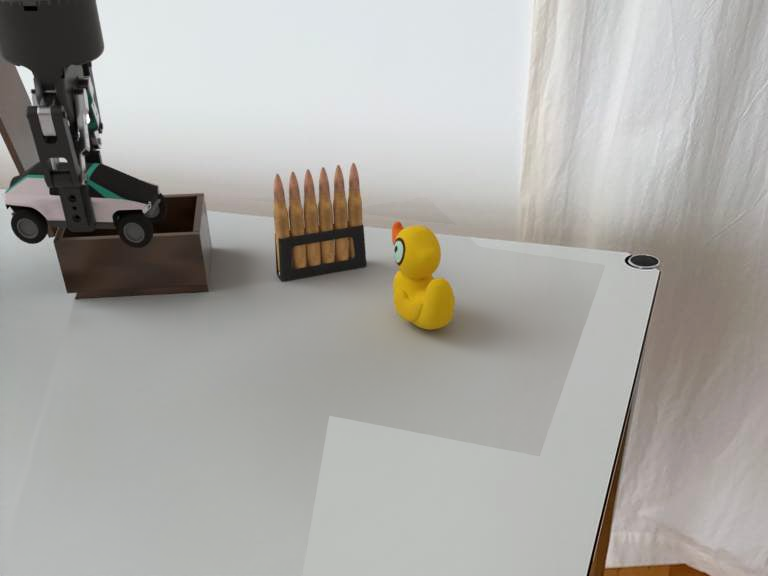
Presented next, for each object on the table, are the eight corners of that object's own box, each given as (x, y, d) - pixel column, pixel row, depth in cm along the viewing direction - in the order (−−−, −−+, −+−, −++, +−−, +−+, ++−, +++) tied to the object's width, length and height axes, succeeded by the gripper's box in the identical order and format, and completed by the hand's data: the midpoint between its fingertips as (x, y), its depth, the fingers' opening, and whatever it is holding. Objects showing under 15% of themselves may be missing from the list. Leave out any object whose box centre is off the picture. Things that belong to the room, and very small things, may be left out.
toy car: (35, 214, 79) (19, 152, 75) (171, 220, 79) (160, 158, 75) (10, 244, 75) (-9, 179, 71) (153, 249, 74) (142, 185, 71)
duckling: (374, 302, 101) (372, 215, 95) (416, 292, 103) (417, 206, 96) (421, 349, 94) (423, 258, 87) (465, 337, 96) (471, 247, 89)
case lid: (6, 43, 94) (-1, 45, 94) (-19, 76, 85) (-26, 78, 86) (71, 194, 105) (65, 195, 105) (55, 236, 97) (48, 238, 97)
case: (211, 247, 111) (203, 192, 107) (208, 291, 103) (199, 234, 98) (82, 253, 110) (69, 198, 105) (68, 298, 101) (52, 241, 97)
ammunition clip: (280, 281, 105) (271, 178, 97) (276, 274, 106) (266, 171, 98) (366, 266, 108) (364, 164, 100) (361, 260, 109) (358, 158, 101)
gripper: (5, -38, 69) (58, 180, 81) (-43, 9, 59) (26, 252, 70) (105, -38, 70) (143, 178, 81) (75, 8, 59) (124, 249, 71)
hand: (89, 211), depth 76 cm, fingers closed on toy car, 6 cm apart
